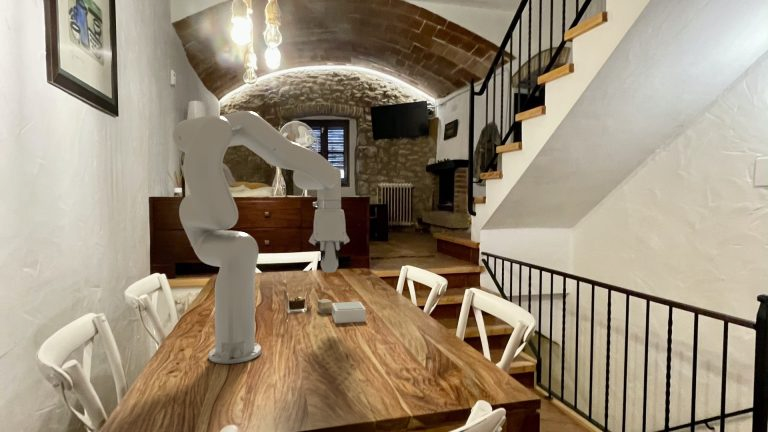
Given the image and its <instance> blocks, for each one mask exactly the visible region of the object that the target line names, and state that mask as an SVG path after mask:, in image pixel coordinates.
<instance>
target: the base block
mask: <svg viewBox="0 0 768 432" xmlns="http://www.w3.org/2000/svg"><path fill="white" fill-rule="evenodd" d="M366 314H367V309H366V307H365V306H364V305H363V303H362V301H345V302H333V303H332V313H331V316H332V319H333V321H334V323H335V324H345V323H362V322H366V321H367V318H366V317H367V315H366Z"/></svg>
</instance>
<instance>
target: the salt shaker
mask: <svg viewBox="0 0 768 432" xmlns="http://www.w3.org/2000/svg"><path fill="white" fill-rule="evenodd" d="M324 251H325V258H324V262H323V259H322V260H321V259H320V267H321V270H322V272H323V273H325V274H326V273H327V274H328V273H329V274H331V273H335V272H336V271H337V269H338V267H339V260H338V259H337V260H336V255H335V242H334V241H325V243H324Z"/></svg>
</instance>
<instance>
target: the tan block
mask: <svg viewBox="0 0 768 432" xmlns="http://www.w3.org/2000/svg"><path fill="white" fill-rule="evenodd" d="M332 303H334V302H333V301H332V300H331V299H328V298H326V299H319V300H317V303H316V305H317V307H316V308H317V309H316V310H317V312H318V313H320V314H321V315H324V314H332Z"/></svg>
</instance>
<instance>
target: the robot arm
mask: <svg viewBox="0 0 768 432" xmlns="http://www.w3.org/2000/svg"><path fill="white" fill-rule="evenodd" d="M172 141H173V142H174V145H175V146H176V148H178V149H179V150H180V151H182V152H183V153H185V155H184V160H183V164H182V165H183V166H182V169H183V170H182V171H183V176H184V180H185V183H186V185H187V189H188V190H189V194H187V195H186V196H185V197H184V198H183V199H182V200H181V202H180V205H179V209H178V210H179V211H178V212H179V214H178V215H179V221H180V222H181V225H182V228H183V229H184V232H185V234H186V236H187V238H188V240H189V243H190V244H191V247H192V249H193V251H194V254H195V255H196V256H197V258H198V259H199V260H200V262H202V263H204V264H206V265H209V266H212V267H219V269H218V270H219V271H218V273H217V276H216V279H215V283H214V328H215V330H214V333H215V334H214V339H215V341H214V342H215V343H214V344H215V345H214V347H213V348H212V349H210V351H209V352H208V359H209V360H210V362H213V363H216V364H224V365H225V364H226V365H227V364H228V365H229V364H238V363H244V362H248V361H252V360H253V359H255V358H257V357H258V356H260V355H261V352H262V346H261V345H260V344H259V343H256V326H255V325H256V324H255V323H256V321H255V320H256V319H255V318H256V317H255V316H256V315H255V314H256V313H255V312H256V309H255V308H256V307H255V305H256V304H255V303H256V302H255V301H256V300H255V299H256V297H255V295H256V294H255V291H256V290H255V289H256V287H255V282H256V281H255V280H256V279H255V278H256V269H257V264H258V259H259V246H258V243H257V240H256V239H255V238H254V237H253V236H251V235H250V234H249V233H246V232H243V231H237V230H230V229H231V228H233V227H234V226H235V225H236V224H237V222H238V220H239V211H238V206H237V204H236V202H235V199H234V197H233V195H232V191H231V190H230V187H229V184H228V182H227V179H226V176H225V172H224V168H223V161H224V157H225V154H226V152H227V150H228V148H229V147H234V146H244V147H246V148H247V149H249V150H250V151H252V152H253V153H255V154H256V155H257V156H258V157H260V158H262V160H264V161H265V162H266V163H268V164H269V165H271V166H273V167H277V168H281V169H283V170H284V169H285V170H291V171H294V172H293V175H292V180H293V183H294V185H295V186H296V187H297V188H299V189H301V190H304V191H305V190H306V191H315V190H316V191H317V192H316V194H317V199H316V201H313V202H312V207H315V208H317V209H315V211H314V217H313V218H314V219H313V230H312V231H313V232H312V234H311V236H310V238H309V240H308V242H309V243H310V244H312V245H313V246H315V247H317V248H318V249H319V251H320V261H321V260H322V259H323V262H324V258H325V251H324V243H325V241H334V242H335V255H336V260H337V259H338V261H339V260H340V259H339V258H340V256H339V253H340V252H339V251H340V249H341V248H342V247H343V246H344V245H346V244H347V243H349V242H350V238H349V236H348V235H347V234H348V233H347V231H346V230H347V228H346V216H345V212H344V209H342V193H341V192H342V182H341V181H342V173H341V171H342V170H341V169H340V168H339V167H335V166H334V165H333V164H332V163H331V162H329V160H327V159H326V158H325V157H324V156H322V155H321V154H319V152H316V151H314V150H312V149H310V148H308V147H305V146H303V145H301V144H299V143H296V142H293V141H291V140H289V139H288V138H287V137H285V136H284V135H283V134H282V133H281V132H280V131H278V130H277V129H276V128H275V127H274V126H273V125H272V124H270V123H268V122H267V120H265V119H264V118H263V117H261V115H259V114H257V113H256V112H254V111H249V110H244V111H237V112H231V113H226V114H220V115H214V114H213V115H212V114H210V115H204V116H199V117H193V118H188V119H184V120H182V121H179V123H177V124H176V126H175V127H174V128H173V131H172Z"/></svg>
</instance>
